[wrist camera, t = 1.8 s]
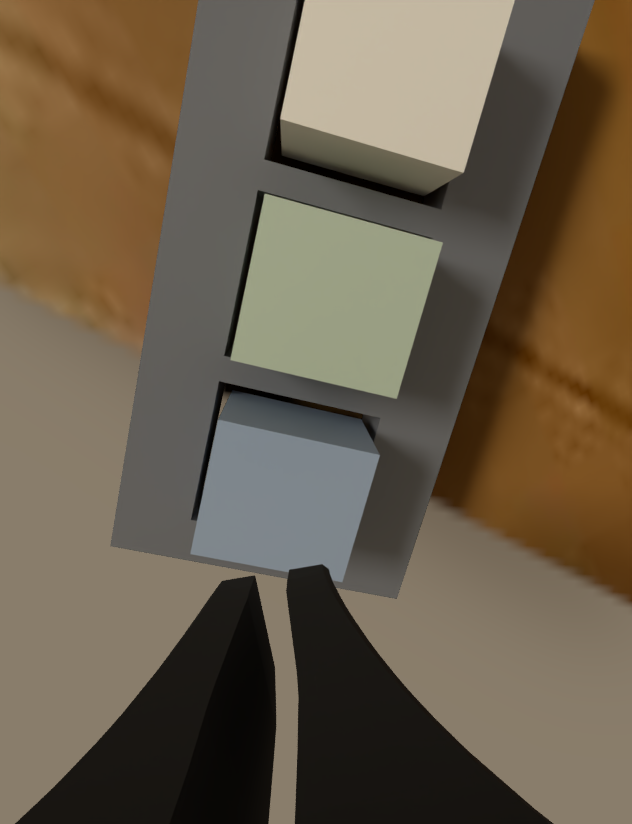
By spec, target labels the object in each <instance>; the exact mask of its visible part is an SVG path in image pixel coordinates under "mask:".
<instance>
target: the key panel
mask: <svg viewBox="0 0 632 824" xmlns="http://www.w3.org/2000/svg"><path fill="white" fill-rule="evenodd" d="M304 2H305V0H199V1H198V7H197V13H196V19H195V26H194V32H193V38H192V44H191V50H190V57H189V63H188V69H187V75H186V81H185V88H184V94H183V100H182V106H181V112H180V119H179V125H178V131H177V137H176V143H175V150H174V156H173V162H172V168H171V174H170V180H169V187H168V193H167V199H166V205H165V211H164V218H163V224H162V230H161V236H160V242H159V249H158V255H157V261H156V267H155V273H154V280H153V286H152V292H151V298H150V304H149V311H148V317H147V323H146V329H145V335H144V341H143V348H142V354H141V360H140V366H139V372H138V379H137V385H136V391H135V397H134V404H133V410H132V416H131V422H130V429H129V435H128V441H127V447H126V453H125V459H124V465H123V472H122V478H121V485H120V491H119V496H118V503H117V509H116V515H115V521H114V527H113V534H112V540H111V546H113V547H118V548H124V549H129V550H134V551H140V552H145V553H151V554H156V555H162V556H167V557H172V558H178V559H183V560H189V561H194V562H200V563H205V564H211V565H216V566H222V567H227V568H233V569H238V570H243V571H249V572H255V573H259V574H265V575H270V576H276V577H281V578H287V579H288V573H289V572H284V571H279V570H274V569H268V568H263V567H257V566H252V565H247V564H241V563H236V562H231V561H225V560H220V559H214V558H209V557H204V556H198V555H193V554H190V553H191V548H192V543H193V538H194V534H195V529H196V524H197V519H198V514H199V509H200V505H201V500H202V495H203V490H204V483H205V478H206V474H207V469H208V464H209V459H210V454H211V449H212V445H213V440H214V435H215V430H216V425H217V420H218V415H219V411H220V406H221V401H222V396H223V391H224V386H225V383H229V384H234V385H238V386H243V387H247V388H251V389H256V390H260V391H264V392H269V393H273V394H278V395H282V396H286V397H291V398H295V399H300V400H304V401H308V402H313V403H317V404H321V405H326V406H330V407H335V408H339V409H343V410H348V411H352V412H357V413H361V414H363V418H362V422H363V424H364V425H365V427H366V429H367V431H368V433H369V435H370V437H371V439H372V441H373V443H374V445H375V446H376V448H377V450H378V452H379V454H380V457H379V460H378V463H377V467H376V470H375V474H374V477H373V480H372V484H371V487H370V490H369V494H368V497H367V501H366V504H365V507H364V511H363V514H362V517H361V521H360V524H359V528H358V531H357V534H356V538H355V541H354V544H353V548H352V551H351V555H350V558H349V561H348V565H347V568H346V571H345V575H344V578H343V582H338V581H333V580H332V581H333V583H334V585H335V587H336V588H341V589H346V590H352V591H357V592H363V593H368V594H374V595H379V596H384V597H389V598H395V599H397V596H398V593H399V590H400V587H401V584H402V581H403V578H404V575H405V572H406V569H407V566H408V563H409V560H410V557H411V554H412V551H413V548H414V545H415V542H416V539H417V536H418V533H419V530H420V527H421V524H422V521H423V518H424V515H425V512H426V509H427V506H428V503H429V500H430V497H431V494H432V491H433V487H434V484H435V481H436V478H437V475H438V472H439V469H440V466H441V463H442V460H443V457H444V454H445V451H446V448H447V445H448V442H449V439H450V436H451V433H452V430H453V427H454V424H455V421H456V418H457V415H458V412H459V409H460V406H461V403H462V400H463V397H464V394H465V391H466V388H467V385H468V382H469V379H470V376H471V373H472V369H473V366H474V363H475V360H476V357H477V354H478V351H479V348H480V345H481V342H482V339H483V336H484V333H485V330H486V327H487V324H488V321H489V318H490V315H491V312H492V309H493V306H494V303H495V300H496V297H497V294H498V291H499V288H500V285H501V282H502V279H503V276H504V273H505V270H506V267H507V264H508V261H509V258H510V255H511V251H512V248H513V245H514V242H515V239H516V236H517V233H518V230H519V227H520V224H521V221H522V218H523V215H524V212H525V209H526V206H527V203H528V200H529V197H530V194H531V191H532V188H533V185H534V182H535V179H536V176H537V173H538V170H539V167H540V164H541V161H542V158H543V155H544V152H545V149H546V146H547V143H548V140H549V137H550V133H551V130H552V127H553V124H554V121H555V118H556V115H557V112H558V109H559V106H560V103H561V100H562V97H563V94H564V91H565V88H566V85H567V82H568V79H569V76H570V73H571V70H572V67H573V64H574V61H575V58H576V55H577V52H578V49H579V46H580V43H581V40H582V37H583V34H584V31H585V28H586V25H587V22H588V19H589V15H590V12H591V9H592V6H593V3H594V0H515V1H514V5H513V8H512V12H511V15H510V18H509V22H508V25H507V28H506V32H505V35H504V38H503V42H502V45H501V49H500V52H499V55H498V59H497V62H496V65H495V69H494V72H493V76H492V79H491V82H490V86H489V89H488V92H487V96H486V99H485V103H484V106H483V109H482V113H481V116H480V119H479V123H478V126H477V130H476V133H475V136H474V140H473V143H472V146H471V150H470V153H469V157H468V160H467V163H466V167H465V170H464V173H463V174H461V175H459V176H457V177H456V178H454V179H452V180H451V181H449V182H447V183H446V184H444V185H442V186H441V187H439V188H437V189H435V190H434V191H432V192H430V193H429V194H427V195H425V198H424V201H423V204H420V203H416V202H413V201H409V200H405V199H402V198H398V197H395V196H391V195H388V194H384V193H381V192H377V191H374V190H370V189H367V188H363V187H360V186H356V185H353V184H349V183H346V182H342V181H338V180H335V179H331V178H328V177H324V176H321V175H317V174H314V173H310V172H307V171H303V170H300V169H296V168H293V167H289V166H286V165H282V164H278V163H275V162H271V159H272V154H273V149H274V144H275V140H276V135H277V130H278V125H279V120H280V115H281V111H282V106H283V101H284V96H285V91H286V86H287V82H288V77H289V72H290V67H291V62H292V57H293V52H294V48H295V43H296V38H297V33H298V28H299V23H300V19H301V14H302V11H303V6H304ZM265 194H268V195H272V196H276V197H279V198H283V199H286V200H290V201H294V202H297V203H301V204H305V205H308V206H312V207H316V208H319V209H323V210H326V211H330V212H334V213H337V214H341V215H345V216H348V217H352V218H355V219H359V220H363V221H366V222H370V223H374V224H377V225H381V226H385V227H388V228H392V229H395V230H399V231H403V232H406V233H410V234H414V235H417V236H421V237H424V238H428V239H432V240H435V241H439V242H443V244H442V248H441V251H440V254H439V258H438V261H437V264H436V268H435V271H434V275H433V278H432V281H431V285H430V288H429V291H428V295H427V298H426V302H425V305H424V308H423V312H422V315H421V318H420V322H419V325H418V329H417V332H416V335H415V339H414V342H413V345H412V349H411V352H410V356H409V359H408V362H407V366H406V369H405V372H404V376H403V379H402V383H401V386H400V389H399V393H398V396H397V399H395V398H391V397H386V396H382V395H378V394H374V393H369V392H365V391H361V390H356V389H352V388H348V387H344V386H339V385H335V384H331V383H327V382H322V381H318V380H314V379H309V378H305V377H301V376H297V375H292V374H288V373H284V372H279V371H275V370H271V369H267V368H262V367H258V366H254V365H250V364H245V363H241V362H237V361H232V360H230V359H231V355H232V350H233V343H234V338H235V333H236V328H237V324H238V319H239V314H240V309H241V304H242V299H243V294H244V290H245V285H246V280H247V275H248V270H249V265H250V261H251V256H252V251H253V246H254V241H255V236H256V232H257V227H258V222H259V217H260V212H261V207H262V203H263V200H264V195H265Z"/></svg>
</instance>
